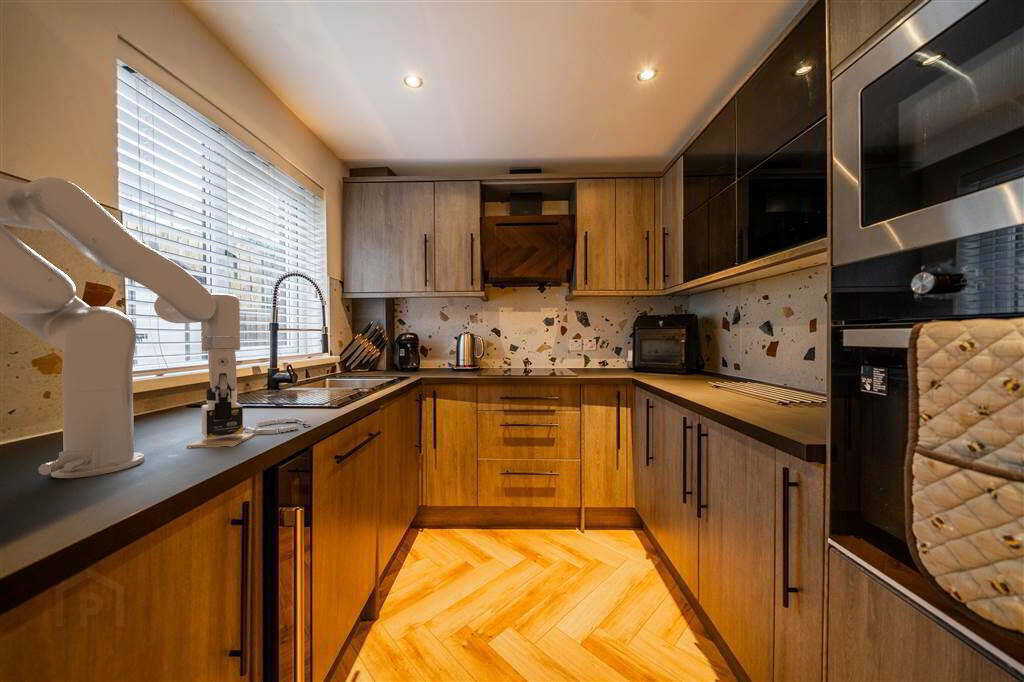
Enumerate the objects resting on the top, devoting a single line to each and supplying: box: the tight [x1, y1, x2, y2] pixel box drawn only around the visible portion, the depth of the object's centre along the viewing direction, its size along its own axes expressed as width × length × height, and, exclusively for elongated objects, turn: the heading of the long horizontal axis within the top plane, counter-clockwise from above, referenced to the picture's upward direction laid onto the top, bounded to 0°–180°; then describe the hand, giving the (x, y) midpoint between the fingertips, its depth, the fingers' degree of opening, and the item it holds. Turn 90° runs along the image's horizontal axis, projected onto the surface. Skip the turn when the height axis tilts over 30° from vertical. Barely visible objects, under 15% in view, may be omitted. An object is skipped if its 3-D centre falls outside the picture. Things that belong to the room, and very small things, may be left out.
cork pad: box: [186, 432, 256, 449], centre depth 96 cm, size 10×10×1 cm
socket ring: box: [243, 417, 311, 436], centre depth 109 cm, size 14×17×1 cm
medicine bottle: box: [201, 385, 244, 439], centre depth 95 cm, size 7×7×12 cm
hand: (222, 416), depth 95 cm, fingers closed on medicine bottle, 7 cm apart
